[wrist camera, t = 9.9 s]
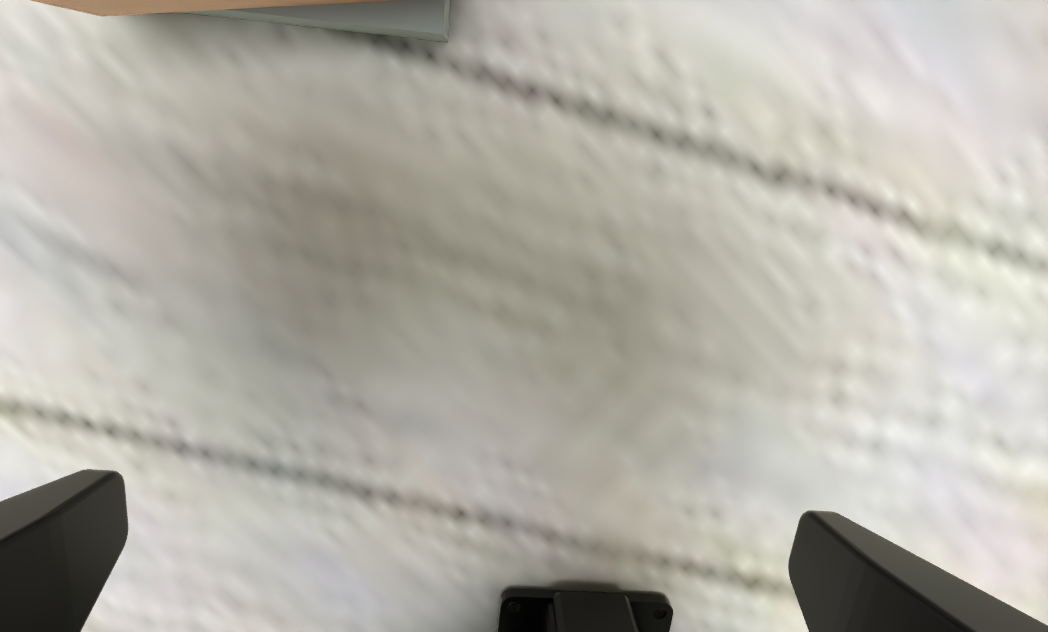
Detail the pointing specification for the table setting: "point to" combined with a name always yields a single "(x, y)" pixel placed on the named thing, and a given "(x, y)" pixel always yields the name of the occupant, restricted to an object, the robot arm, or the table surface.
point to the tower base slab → (357, 17)
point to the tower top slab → (177, 5)
